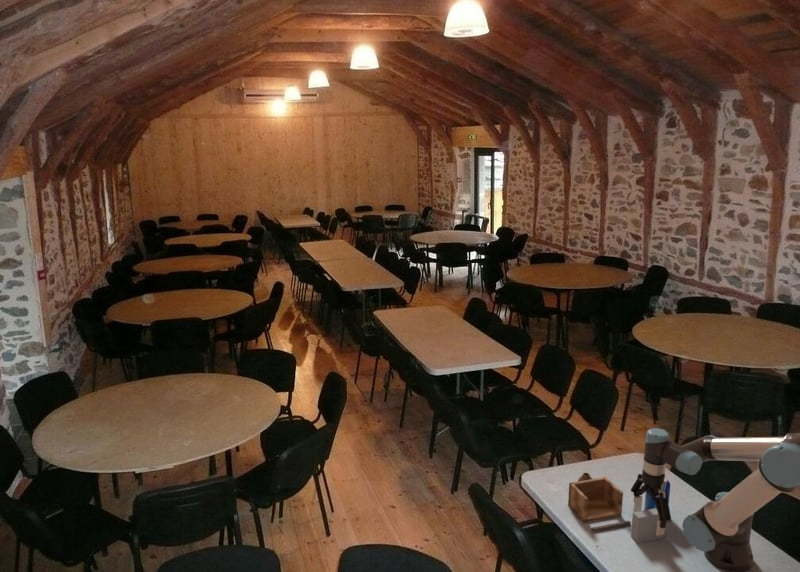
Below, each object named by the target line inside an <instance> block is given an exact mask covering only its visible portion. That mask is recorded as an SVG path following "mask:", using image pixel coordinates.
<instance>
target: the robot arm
mask: <svg viewBox="0 0 800 572" xmlns="http://www.w3.org/2000/svg"><path fill="white" fill-rule="evenodd" d="M707 461H731V462H732V461H734V462H735V461H736V462H737V461H739V462H757V469H756V470H754V471H753V472H752V473H751V474H749V475H748V476H747V477H746V478H744V479H743V480H742V481H740V482H739V483H738V484H737V485H736V486H735V487H733V488H732V489H731V490H730V491H721V492H717V494H716V496H715V497H714V499H715V500H711V501H708V502H707V503H706V504H704V505H703V506H702V507H700V508H699V509H698V510H697V511H695V512H694V513H692V514H688V515H687V516H686V517H685V518H684V519H683V521H682V529H683V534H684V536H685V538H686V540H687V541H688V543H690V545H691V546H693V547H694V549H697V550H699V551H701V552H704V553H703V554H704V557H705V558H706V559H707V561H708V562H710V563H711V564H713V565H714V566H716V567H718V568H720V569H723V570H724V571H725V570H726V571H728V572H747V571H749V570H750V569H752V567H753V566H754V555H753V552H752V548H751V543H750V542H751V541H750V540H751V533H752V527H753V519H754V515H755V513H756V512H757V511H759V510H760V509H761V508H762V507H764V506H766V505H767V504H768V503H770V502H771V501H772V500H773V499H775V498H776V497H777V496H778V495H780V494H781V493H782V494H783V493H784V494H790V493H793V492H794V491H796V490H797V489H798V488H800V432H795V433H794V432H793V433H791V432H790V433H787V434H786V435H785V436H759V437H758V436H756V437H751V436H750V437H717V436H715V435H712V434H710V435H705V436H701V437H699V438H698V439H695V440H692V441H691V442H687V443H685V444H683V445H679V444H678V443H675V442H673V441H671V440H670V434H669V432H668V431H667V430H665V429H663V428H657V427H654V428H653V427H652V428H650V429H648V430H647V431H646V435H645V440H644V455H643V461H642V462H643V463H642V471H641V473H639V474H638V473H637V478H636V480H635V482H634V484H633V485H632V487H631V489H630V492H631V493H633V496H634V497H633V503H634V504H633V512H638V511H642V506H643V494H646V492H647V493H648V494H649V495H650V496H651V497H652V500H653V501H654V502H655V505H656V509H657V512H658V515H659V518H658V521H657V530H656V535H657V536H658V535H663V534H664V530H665V527H666V528H667V526H666V522H667V523H668V522H671V521H672V516H671V515H672V514H671V511H670V505H668V499H667V495H668V494H667V492H663V491H662V489H661V486H662V484H663V483H664V479H665V476H666V474H665V473H666V466H667V465H669V466H671V467H672V468H674V469H676V470H678V471H679V472H681V473H683V474H684V473H685V474H687V475H688V476H694V475H696V474H698V472H699V471H700V470H701V468H702V466H703V465H702V464H703V463H705V462H707ZM658 495H659V497H657V498H655V496H658ZM633 512H632V513H633Z"/></svg>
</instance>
